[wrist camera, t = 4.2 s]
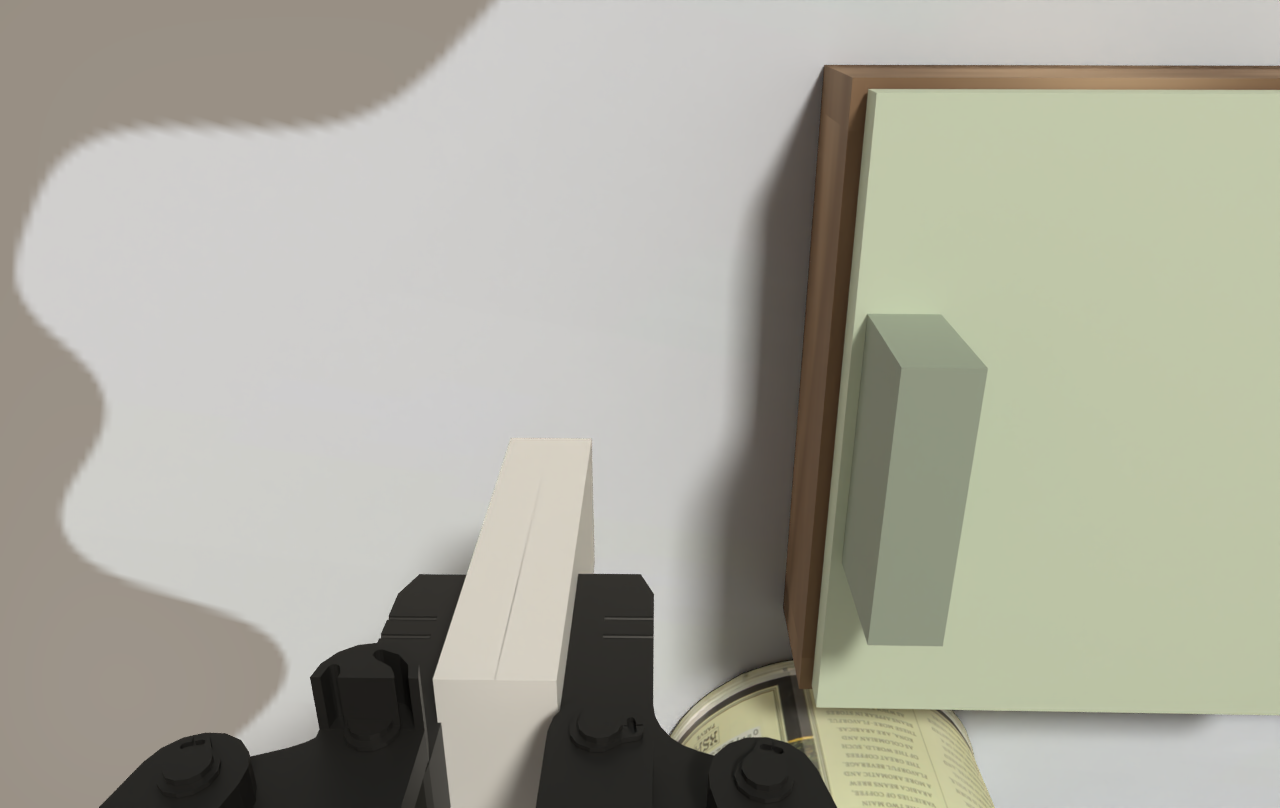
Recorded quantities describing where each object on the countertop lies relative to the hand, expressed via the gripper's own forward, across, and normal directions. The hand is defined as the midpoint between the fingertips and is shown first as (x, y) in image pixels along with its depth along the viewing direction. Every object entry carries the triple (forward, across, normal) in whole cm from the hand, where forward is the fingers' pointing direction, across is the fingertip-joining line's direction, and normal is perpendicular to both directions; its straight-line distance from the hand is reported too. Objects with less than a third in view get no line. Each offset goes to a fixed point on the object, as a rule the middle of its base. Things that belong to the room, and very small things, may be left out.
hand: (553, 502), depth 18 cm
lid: (+4, -13, 0) cm, 14 cm away
